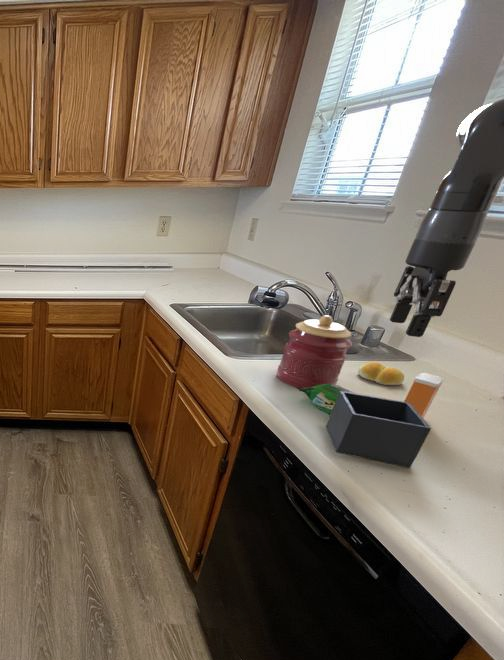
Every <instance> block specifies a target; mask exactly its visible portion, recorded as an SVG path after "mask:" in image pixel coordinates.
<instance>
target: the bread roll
mask: <svg viewBox="0 0 504 660" xmlns="http://www.w3.org/2000/svg"><path fill="white" fill-rule="evenodd" d="M357 373H358V375H359V376H360V377H362V378H363V379H365V380H369V381H372V382H375V383H377V384H380V385H383V386H399V385H401V384H403V382H404V381H405V374H404V373H403V371H402V370H399V369H397V368H394V367H391V366H385V365H384V364H383V363H380V362H377V361H369V362H367V363H364V364H363V365H361V366H360V367H359V368H358V370H357Z"/></svg>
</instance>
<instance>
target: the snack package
mask: <svg viewBox="0 0 504 660" xmlns="http://www.w3.org/2000/svg"><path fill="white" fill-rule="evenodd" d="M299 391H300V392H302V393H303V394H304V395H306V397H307V399H308V400H309V402H310V403H311V404H312V405H314V406H315V407H317V408H318V409H320V410H322V411H324V412H326V413H328V414H329V415H330V414H331V412H332V409H333V407H334V404H335V402H336V399H337V397H338V394H339V392H340V391H343V392H349V393H355V394H357V393H356V392H353V391H351V390H349V389H347V388H344V387H342V386H340V385H337V384H336V385H334V384H322V385H316V386H314V387H310V388H298V392H299Z"/></svg>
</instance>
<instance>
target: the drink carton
mask: <svg viewBox="0 0 504 660" xmlns="http://www.w3.org/2000/svg"><path fill="white" fill-rule="evenodd" d="M444 380H445V378H444V377H442V376H438V375H434V374H432V373H431V374H430V373H426V372H423V371H422V372H421V373H419V374H418V375H417V376H416V377H414V379H413V382H412V385H411V387H410V389H409V391H408V392H407V395H406V397H405V399H404V401H403V402H409V403H410V404H411V405H412V406H413V407H414V409H415V410H416V411H417V412H418V413H419V415H420V416H421V417H422V418H423V419H425V416H426V414H427V413H428V411H429V409H430V406H431V405H432V402H433V401H434V399H435V397H436V395H437V393H438V392H439V389H440V388H441V386H442V384H443V382H444Z"/></svg>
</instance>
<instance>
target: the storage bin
mask: <svg viewBox="0 0 504 660" xmlns="http://www.w3.org/2000/svg"><path fill="white" fill-rule="evenodd" d="M355 393H356V392H353V393H349V392H343V391H340V392H339V394H338V397H337V399H336V402H335V404H334V407H333V409H332V412H331V414H330V413H329V417H328V419H327V421H326V424H325V428H326V431H327V433H328V435H329V437H330V440H331V443H332V445H333V448H334V450H335V452H336V453H339V454H343V455H347V456H352V457H357V458H362V459H366V460H370V461H376V462H381V463H385V464H389V465H394V466H399V467H403V468H408V469H410V468H411V467H412V465H413V463H414V461H415V460H416V458H417V456H418V454H419V453H420V451H421V448H422V447H423V445H424V443H425V441H426V439H428V438H427V437H428V435H429V434H430V432H431V430H432V427H431V426H430V425H429V423H427V422H426V420H425V418H422V417H421V416H420V415H419V413H418V412H417V411H416V410H415V409H414V407H413V406H412V405H411V404H410V403H409V402H404V401H403V400H396V399H390V398H384V397H379V396H373V395H366V394H361V393H356V394H355Z"/></svg>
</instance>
